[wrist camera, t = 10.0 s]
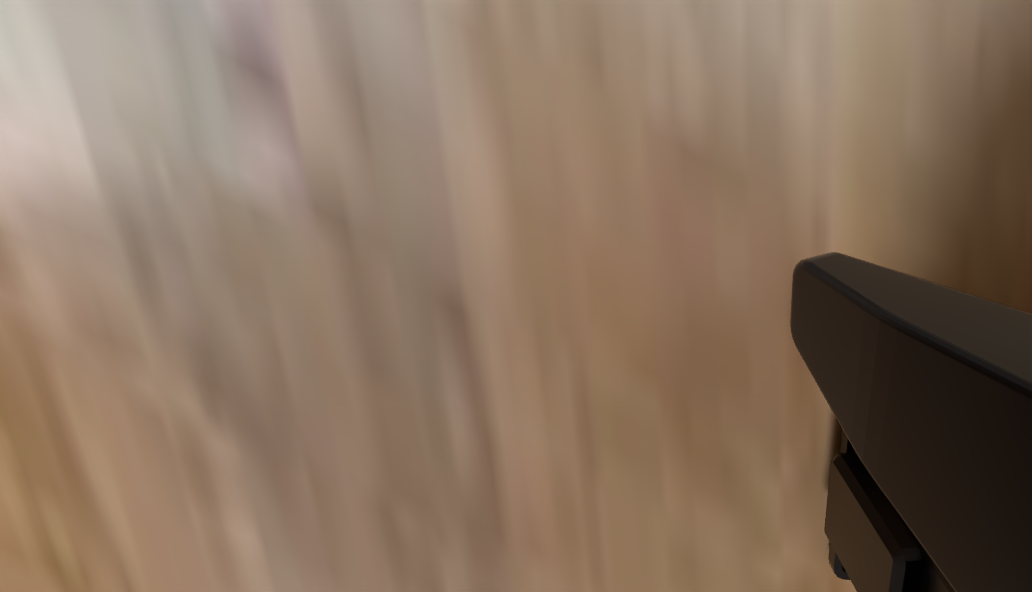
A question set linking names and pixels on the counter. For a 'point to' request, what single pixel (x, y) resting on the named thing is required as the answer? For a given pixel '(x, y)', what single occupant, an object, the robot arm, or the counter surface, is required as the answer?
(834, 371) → the robot arm
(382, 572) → the counter surface
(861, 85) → the counter surface
